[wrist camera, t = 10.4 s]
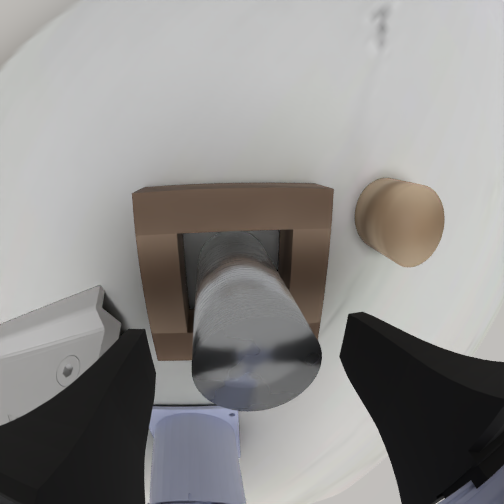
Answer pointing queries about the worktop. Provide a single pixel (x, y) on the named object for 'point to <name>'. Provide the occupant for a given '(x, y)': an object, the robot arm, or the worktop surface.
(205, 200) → the socket block
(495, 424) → the robot arm
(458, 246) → the worktop surface
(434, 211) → the oak stub
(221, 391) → the tall pin
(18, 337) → the hinge
